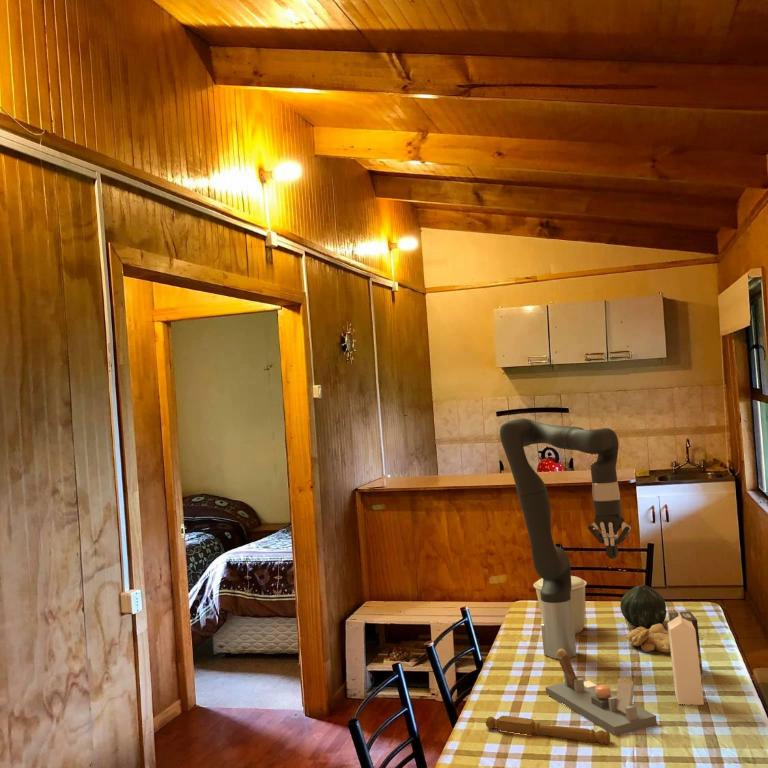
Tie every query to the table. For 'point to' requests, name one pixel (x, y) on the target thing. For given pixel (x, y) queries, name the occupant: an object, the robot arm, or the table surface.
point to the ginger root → (650, 638)
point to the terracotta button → (603, 691)
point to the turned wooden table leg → (546, 729)
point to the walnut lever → (566, 667)
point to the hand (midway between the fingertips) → (612, 558)
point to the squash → (643, 606)
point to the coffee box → (693, 620)
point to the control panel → (597, 713)
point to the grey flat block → (624, 695)
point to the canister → (576, 601)
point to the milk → (685, 662)
